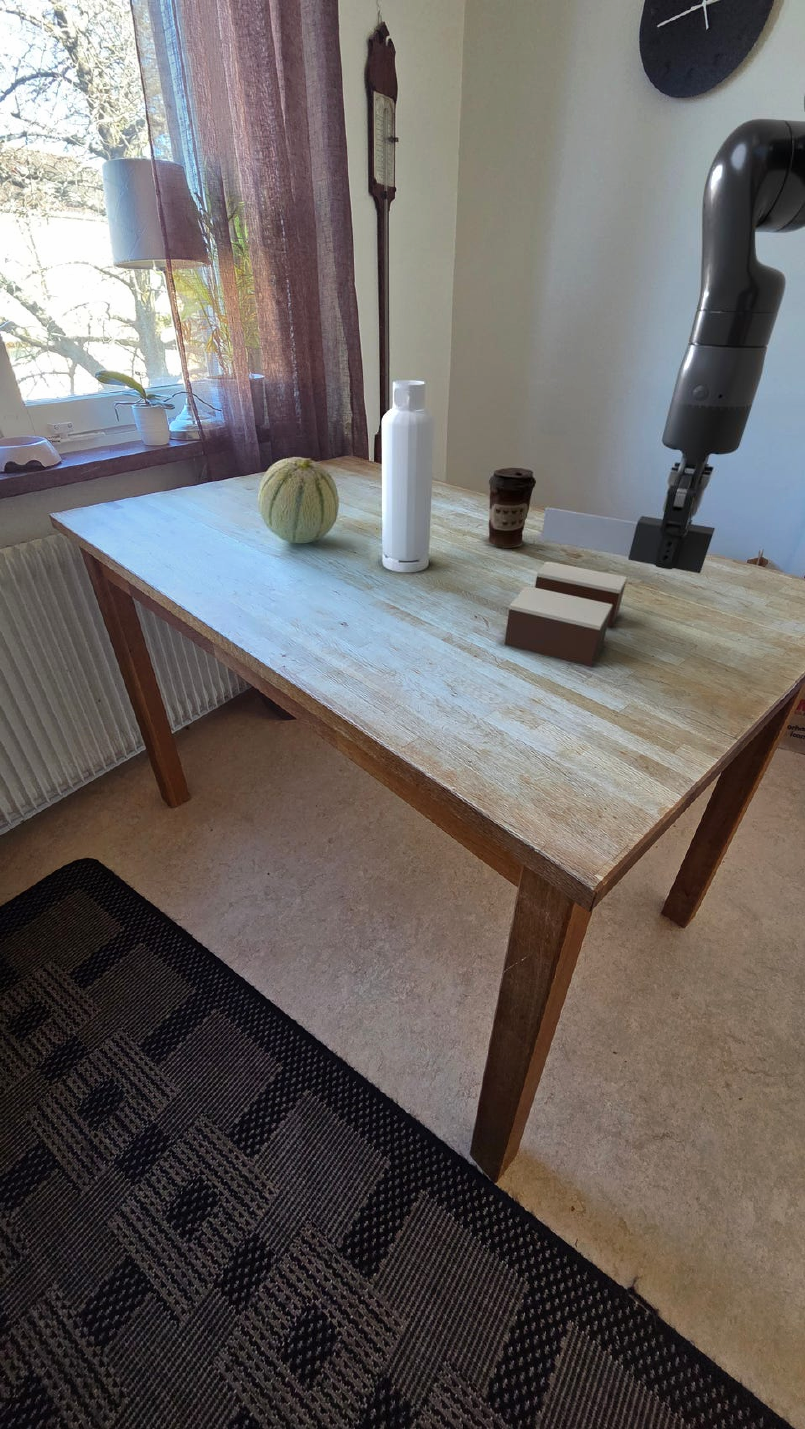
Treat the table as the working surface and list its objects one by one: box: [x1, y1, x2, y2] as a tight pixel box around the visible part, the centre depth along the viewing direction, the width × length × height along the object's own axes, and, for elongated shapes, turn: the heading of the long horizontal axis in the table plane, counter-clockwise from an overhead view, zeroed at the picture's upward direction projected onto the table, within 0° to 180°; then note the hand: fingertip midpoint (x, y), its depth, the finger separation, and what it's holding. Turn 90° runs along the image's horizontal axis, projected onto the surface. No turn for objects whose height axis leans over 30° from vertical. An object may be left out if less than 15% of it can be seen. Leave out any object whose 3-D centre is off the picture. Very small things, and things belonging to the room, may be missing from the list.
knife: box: [540, 506, 716, 574], centre depth 71 cm, size 19×3×4 cm, turn 62°
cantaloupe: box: [257, 456, 340, 544], centre depth 109 cm, size 15×15×15 cm
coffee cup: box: [488, 467, 537, 549], centre depth 110 cm, size 9×8×13 cm
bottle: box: [381, 379, 436, 573], centre depth 97 cm, size 8×8×28 cm
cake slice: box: [534, 561, 628, 629], centre depth 90 cm, size 12×5×6 cm, turn 63°
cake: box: [504, 585, 612, 668], centre depth 82 cm, size 12×7×6 cm, turn 62°
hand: (666, 562), depth 70 cm, fingers closed on knife, 2 cm apart
